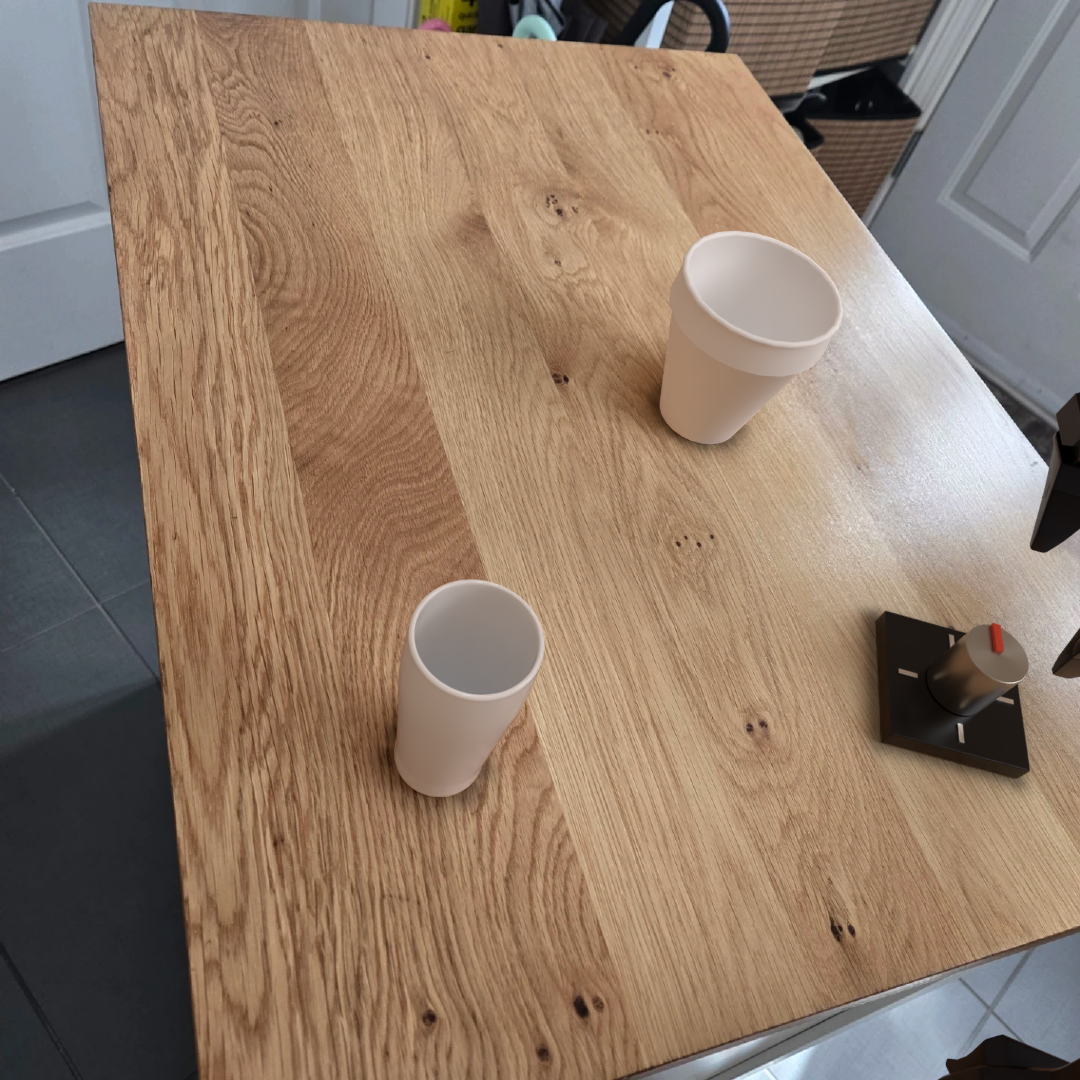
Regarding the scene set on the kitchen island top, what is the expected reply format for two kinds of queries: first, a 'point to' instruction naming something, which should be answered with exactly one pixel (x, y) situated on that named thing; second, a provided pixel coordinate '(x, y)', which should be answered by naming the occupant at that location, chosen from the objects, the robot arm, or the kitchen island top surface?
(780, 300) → the cup
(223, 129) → the kitchen island top surface
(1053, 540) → the robot arm
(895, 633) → the hob panel
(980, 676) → the hob knob
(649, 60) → the kitchen island top surface
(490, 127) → the kitchen island top surface
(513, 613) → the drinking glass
